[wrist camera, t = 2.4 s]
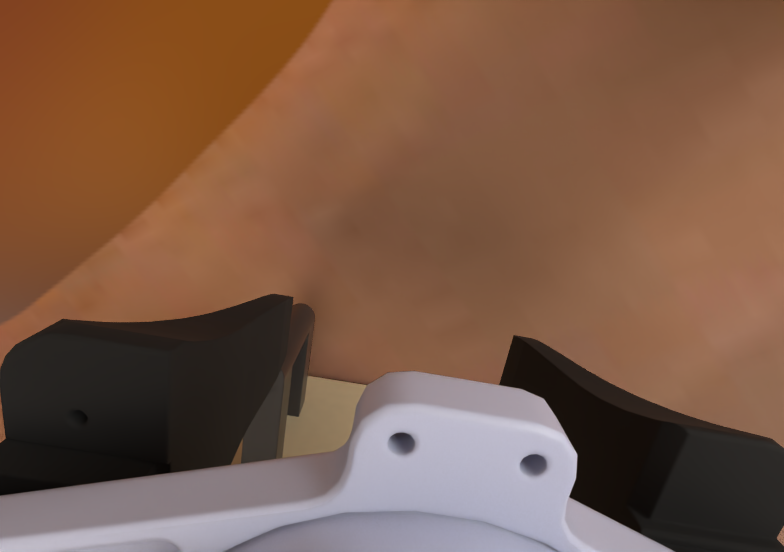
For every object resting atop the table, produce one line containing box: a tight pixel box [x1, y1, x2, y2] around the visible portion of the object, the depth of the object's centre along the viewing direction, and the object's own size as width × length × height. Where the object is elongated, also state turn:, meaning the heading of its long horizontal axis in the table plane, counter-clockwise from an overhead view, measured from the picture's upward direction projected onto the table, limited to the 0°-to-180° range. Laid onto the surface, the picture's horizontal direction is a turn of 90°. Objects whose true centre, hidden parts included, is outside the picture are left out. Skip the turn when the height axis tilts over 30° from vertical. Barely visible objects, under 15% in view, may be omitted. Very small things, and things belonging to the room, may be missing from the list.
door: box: [231, 303, 367, 465], centre depth 20 cm, size 6×16×10 cm, turn 80°
